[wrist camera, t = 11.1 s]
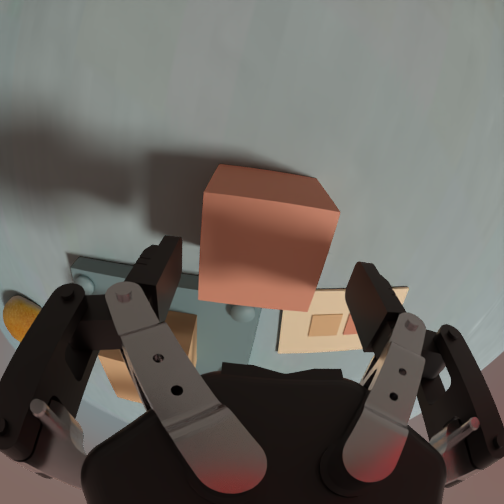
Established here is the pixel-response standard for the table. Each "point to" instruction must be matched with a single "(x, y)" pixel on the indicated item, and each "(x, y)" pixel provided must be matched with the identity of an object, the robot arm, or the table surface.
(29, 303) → the bread roll
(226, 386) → the robot arm
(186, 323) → the oak brick
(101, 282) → the board
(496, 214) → the table surface
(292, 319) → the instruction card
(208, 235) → the terracotta brick
